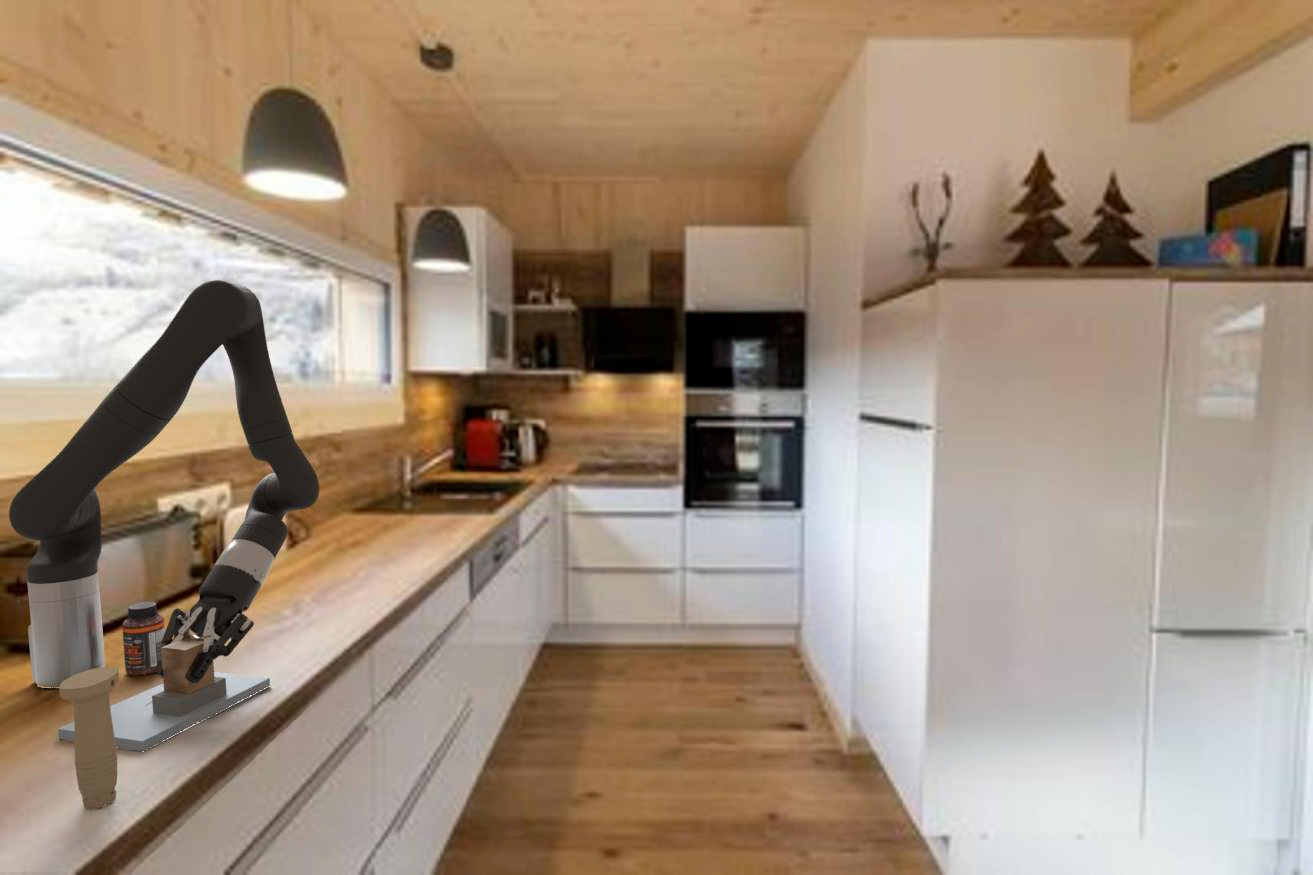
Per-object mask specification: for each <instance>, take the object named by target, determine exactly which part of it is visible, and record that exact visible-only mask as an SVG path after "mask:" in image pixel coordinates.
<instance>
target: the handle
mask: <svg viewBox="0 0 1313 875" xmlns="http://www.w3.org/2000/svg"><path fill="white" fill-rule="evenodd" d="M119 677H120V673H119V667H115V666H109V667H108V666H107V667H106V666H105V667H103V668H95V669H90V670H87V671H84V672H81V673H78V674H76V675H73V676H71V677H69V678H68V679H66V680H64V681H63V682H62V683H61V684H60V687H59V688H58V690H59V691H58V692H59V698H61V699H63V700H65V701H70V702H72V704H73V712H74V713H73V715H74V721H73V722H74V723H75V742H74V765H75V775H76V780H77V786H78V789H79V793H80V795H81V797H82V804H83V807H84V810H87V811H90V810H95V809H94V808H96V810H98V809H97V808H100V809H102V808H103V807H105V806H106V805H105V804H107V805H109V804H108V803H110V802H113V801H116V797H117V790H116V786H117V784H118V783H117V782H118V753H117V752H118V751H117V748H116V743H115V736H114V730H113V724H112V717H111V710H110V706H111V704H110V693H111V692H112V691H113V690H115V688H116V687H117V685H118V683H119ZM113 803H114V802H113ZM110 804H111V803H110ZM104 805H105V806H104ZM102 806H103V807H102ZM101 807H102V808H101Z"/></svg>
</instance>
